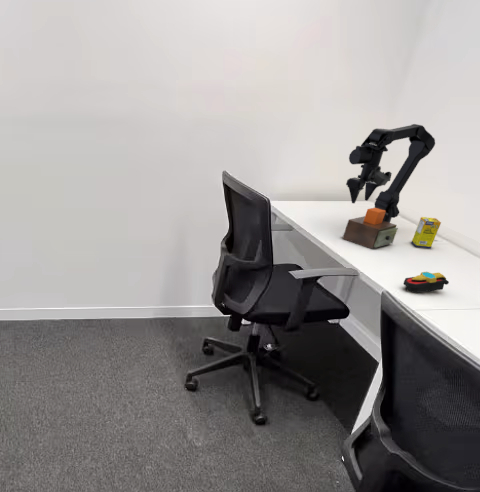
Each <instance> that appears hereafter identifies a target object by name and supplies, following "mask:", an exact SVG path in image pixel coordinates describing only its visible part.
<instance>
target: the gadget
mask: <svg viewBox="0 0 480 492" xmlns="http://www.w3.org/2000/svg"><path fill="white" fill-rule="evenodd" d="M449 283H450V282H449V280H447V278H446V276H445V275H444V274H443V273H441V272H430V271H421V272H420V274H419V275H416V276H410V277H406V278H405V279H404V280H403V285H404V286H405V290H407V292H412V293H424V292H431V293H432V292H434V291H441V290H443V289H444V286H445V285H446V286H447V285H449Z"/></svg>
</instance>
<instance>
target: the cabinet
mask: <svg viewBox="0 0 480 492" xmlns="http://www.w3.org/2000/svg"><path fill="white" fill-rule="evenodd" d="M364 218H365V215H364V216H359V217H355V218H351V219H350V218H349V219H348V220H347V224H346V227H345V230H344V233H343V237H342V240H345V241H348V242H350V243H354V244H356V245H359V246H362V247H366V248H367V249H371V250H373V249H378V247H374V244H375V241H376V238H377V235H378V232H379V231H381V230H385V229H389V228H395V227H396V228H397V224H395V223H392V222H390V223H389V222H385V221H382V223H380V224H375V225H374V224H371V223H367V222H364ZM389 245H390V244H387V245H384V246H383V247H385V246H389ZM380 247H382V246H380ZM380 247H379V248H380Z"/></svg>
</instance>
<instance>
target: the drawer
mask: <svg viewBox="0 0 480 492" xmlns="http://www.w3.org/2000/svg"><path fill="white" fill-rule="evenodd" d="M397 232H398V227H397V226H396V227H395V228H389V229H385V230H381V231H379V232H378V235H377V238H376V241H375V244H374V247H377V248H380V246H381V247H385V246H388V245H387V244H389V245H391V244H393V242H394V240H395V237H396V235H397ZM384 245H385V246H384Z"/></svg>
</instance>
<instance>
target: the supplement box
mask: <svg viewBox="0 0 480 492" xmlns="http://www.w3.org/2000/svg"><path fill="white" fill-rule="evenodd" d="M441 224H442V221H440V220H439V219H438V218H436V217H427V216H421V217H420V219H419V221H418V225H417V227H416V229H415V231H414V234H413V237H412V239H411V242H410V243H411V244H412V245H413V246H414V247H415V248H421V249H431V248H432V246H433V244H434V241H435V239H436V236H437V234H438V231H439V229H440V227H441Z"/></svg>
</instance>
